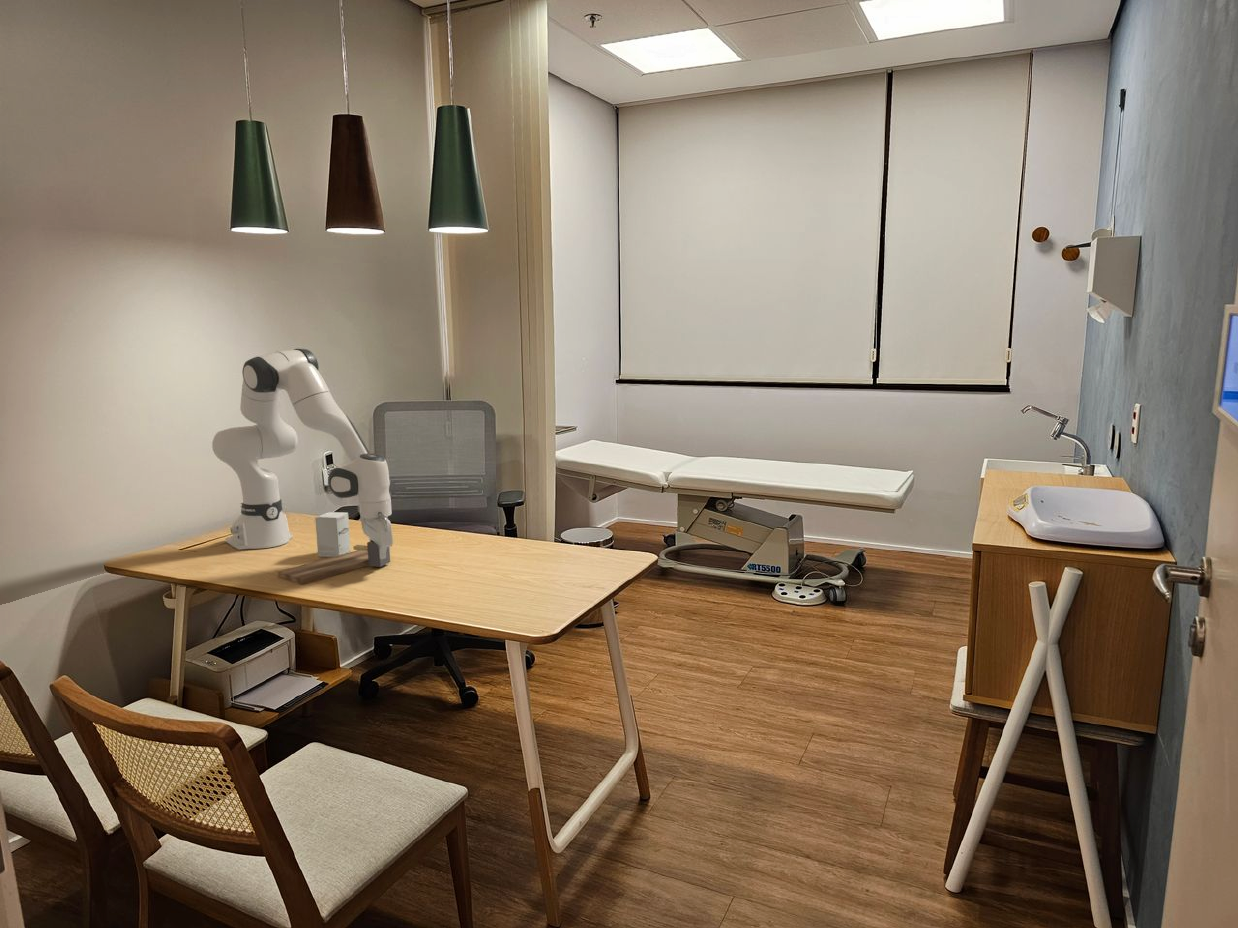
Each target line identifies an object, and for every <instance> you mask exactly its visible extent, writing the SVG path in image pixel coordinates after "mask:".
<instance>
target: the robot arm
mask: <svg viewBox="0 0 1238 928" xmlns="http://www.w3.org/2000/svg"><path fill="white" fill-rule="evenodd" d="M242 379H243V380H242V383H241V384H242V385H241V393H240V394H241V396H240V409H239V410H240V412H241V415H242V416H243V417H244V418H245V419H246V420H248V421H249V422H251V423H254V424H256V425H254V424H253V425H250V426H249V425H248V426H236V427H230V428H227V429H223V430H219V431H218V432H217V433H215V435H214V437H213V438H212V442H211V443H212V444H211V446H212V447H211V448H212V452H213V454H214V455H215V457H216V458H217V459H218V460H220V461H221V462H223V463H225V464H226V465H228V466H229V467H230V468H231V469H232V470H233V471H234V472H235V474H236V476H237V478H238V479H239V483H240V487H241V496H242V503H240V508H241V509H240V515H239V516H238V517H237V518H236V519H235V521H234V522H232V525H231V527H230V533H231V534H232V535H231V536H228V537H225V539H224V542H225V543H226V544H228V545H230V546H232V547H233V548H234V549H236V550H239V551H241V550H250V549H251V550H252V549H253V550H254V549H255V550H257V549H258V550H259V549H268V548H273V547H274V548H275V547H279V546H282V545H285V544H287V543H289V542H290V540H291V539H292V538H294V535H293V533H290V529H289V522H288V519H287V515H286V514H285V513H284V512H283V501H282V499H281V495H280V485H279V483H280V482H279V478H278V477H277V475H276V474H275V472H272V471H270V470H268V469H266V468H261V467H260V465H259V460H266V459H272V458H274V459H275V458H280V457H281V458H282V457H284V456H287V455H291V454H293V453H294V452H295V450H296V449H297V447H298V444H299V437H298V433H297V431H296V430H295V429H294V428H293V426H292V425H290V424H288V423H286V422H285V421H284V420H283V418H282V417H281V414H280V413H281V412H280V408H281V407H280V405H281V404H280V403H281V401H280V400H281V394H282V393H281V392H282V390H284V391H286V393H287V395H288V397H289V400H290V402H291V405H292V407H293V409H294V412H295V414H296V416H297V417H298V419H299V420H300V422H301V423H302V424H303V425H304V426H306V427H307V428H310V429H311V430H316V431H319V432H323V433H326V434H327V435H331V436H332V437H334V438H335V439H336V440H337V441H338V443H340V445H341V447H342V450H344V452H345V454H346V456H347V457H348V459H349V461H350V462H347V463H345V464H341V465H339V466H336V467H334V468H333V469H331V470H330V472H329V474H328V477H327V485H328V486H327V487H328V488H329V491H330V492H331V493H332V494H333V496H335V497H337V498H339V499H347V498H348V499H349V498H352V497H357V498H358V500H359V504H357V511H358V512H359V515H360V523H361V528H362V529H361V530H362V532H363V534H364V535H365V536H366V537H368V539H369V542H370V541H374V542H375V543H376V544H377V545H378V546H379V552H378V553H379V558H380V559H385V558H386V551H387V547H389V548H390V547H392V546H393V544H394V537H393V528H392V523H391V521H390V519H389V516H391V515H392V513H393V512H392V500H391V494H390V483H391V481H390V471H389V467H388V466H389V465H388V463H387V462H388V461H387V460H386V458H385V457H384V456H382V455H381V454H377V453H371V452H370V450H369V449H368V448H367V447H368V446H366V444H365V441H363V439H362V437H361V435H360V434H359V432H358V430H357V429H356V426H355V425H354V424H353V422H352V420H351V419H350V418H349V416H348V415H347V414H346V413H344V412H343V411H342V409H341V408H340V407H339V406H338V404H337V402H336V401H335V400H334V397H333V396H332V393H331V390H330V389H329V387H328V385H327V383H326V381H325V380H324V378H323V376H322V375H321V373H320V371H319V362H318V359H317V357H316V356H315V354H314V353H313V352H312V351H311V350H309V349H307V348H306V349H305V348H295V349H286V350H279V351H278V350H277V351H274V352H272V353H267V354H265V355H261V356H254V357H252V358H250V359H248V360H246V361H245V363H243V367H242Z"/></svg>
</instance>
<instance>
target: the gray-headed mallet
mask: <svg viewBox="0 0 1238 928" xmlns="http://www.w3.org/2000/svg"><path fill="white" fill-rule="evenodd" d="M352 547H353V551H357V550H362V551H368V562H369V566H368V567H378V568H381V567H383V566H385V565H387V564H389V563H391V552H390V550H391V549H390V547H387V551H386V558H385V559H380V558H379V553H378V552H379V546H378V545H377V544H376V543H375V542H374V541H370V540H369V541H368V542H366V544H365V545H364V544H363V545H362V544H356V545H354V546H352Z"/></svg>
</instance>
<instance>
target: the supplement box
mask: <svg viewBox="0 0 1238 928" xmlns="http://www.w3.org/2000/svg"><path fill="white" fill-rule="evenodd" d="M314 518H315V519H314V520H315V533H316V545H317V556H318V557H324V558H325V557H326V558H331V557H334V556H338V555H342V554H346V553H349V552H352V551H351V550H352V548H351V537H350V536H351V535H350V534H351V533H350V521H349V512H342V511H341V512H337V511H335V512H331V511H329V512H328V511H327V512H326V513H323V514H320V515H318V516H315V517H314Z"/></svg>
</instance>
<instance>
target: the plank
mask: <svg viewBox="0 0 1238 928" xmlns="http://www.w3.org/2000/svg"><path fill="white" fill-rule="evenodd" d="M365 567H370V566H369V562H368V551H362V550H353V551H350V552H347V553H345V554H342V555H338V556H334V557H326V558H323V559H319V560H316V561H313V562H312V561H311V562H308V563H304V564H301V565H297V566H294V567H291V568H286V569H283V570H278V571H277V574H278V576H277V577H278V578H281V579H283V580H287V581H289V582H292V583H295V584H299V585H301V586H303V585H305V584H308V583H312V582H316V581H320V580H322V579H327V578H330V577H334V576H337V575H340V574H344V573H347V572H351V571H354V570H359V569H361V568H365Z"/></svg>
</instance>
